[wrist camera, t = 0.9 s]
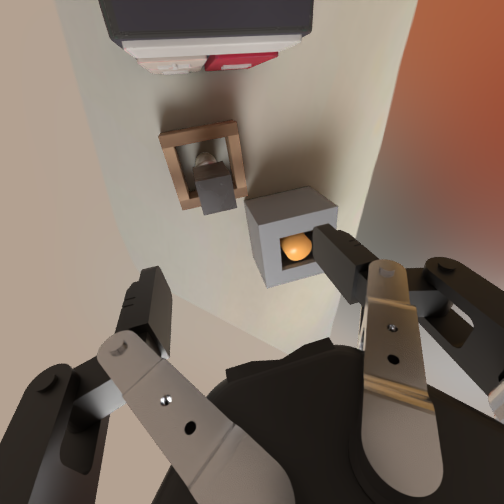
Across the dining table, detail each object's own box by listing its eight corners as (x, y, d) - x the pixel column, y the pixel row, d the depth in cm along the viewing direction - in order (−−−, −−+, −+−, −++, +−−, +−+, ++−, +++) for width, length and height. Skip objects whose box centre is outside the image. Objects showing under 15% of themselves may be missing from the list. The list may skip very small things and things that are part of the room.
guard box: (243, 200, 34) (258, 225, 27) (309, 185, 35) (338, 206, 29) (253, 256, 40) (266, 288, 33) (309, 242, 41) (333, 270, 34)
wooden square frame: (160, 133, 27) (158, 136, 25) (232, 119, 28) (236, 122, 26) (182, 201, 32) (182, 210, 29) (243, 188, 33) (248, 195, 30)
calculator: (148, 77, 24) (114, 59, 12) (134, 19, 22) (73, -75, 10) (252, 71, 26) (313, 49, 14) (249, 17, 24) (321, -67, 12)
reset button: (272, 223, 34) (285, 241, 30) (296, 217, 34) (311, 234, 30) (274, 244, 36) (286, 263, 32) (297, 238, 36) (311, 256, 32)
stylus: (190, 153, 29) (194, 182, 19) (214, 148, 29) (230, 174, 20) (197, 177, 31) (204, 215, 21) (219, 172, 31) (237, 207, 21)
